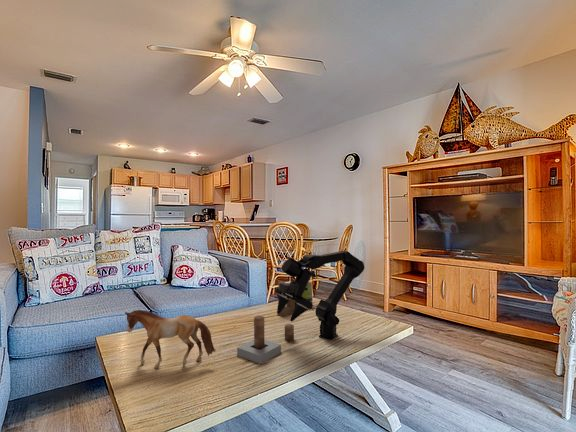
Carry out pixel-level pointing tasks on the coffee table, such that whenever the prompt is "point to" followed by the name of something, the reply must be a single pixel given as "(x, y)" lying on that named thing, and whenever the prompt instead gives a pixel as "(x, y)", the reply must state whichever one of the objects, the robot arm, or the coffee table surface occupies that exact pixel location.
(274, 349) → the slate collar block
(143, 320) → the horse figurine
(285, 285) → the robot arm
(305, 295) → the tea box
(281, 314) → the wooden block
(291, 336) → the short walnut stub
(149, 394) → the coffee table surface
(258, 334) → the tall walnut pin
